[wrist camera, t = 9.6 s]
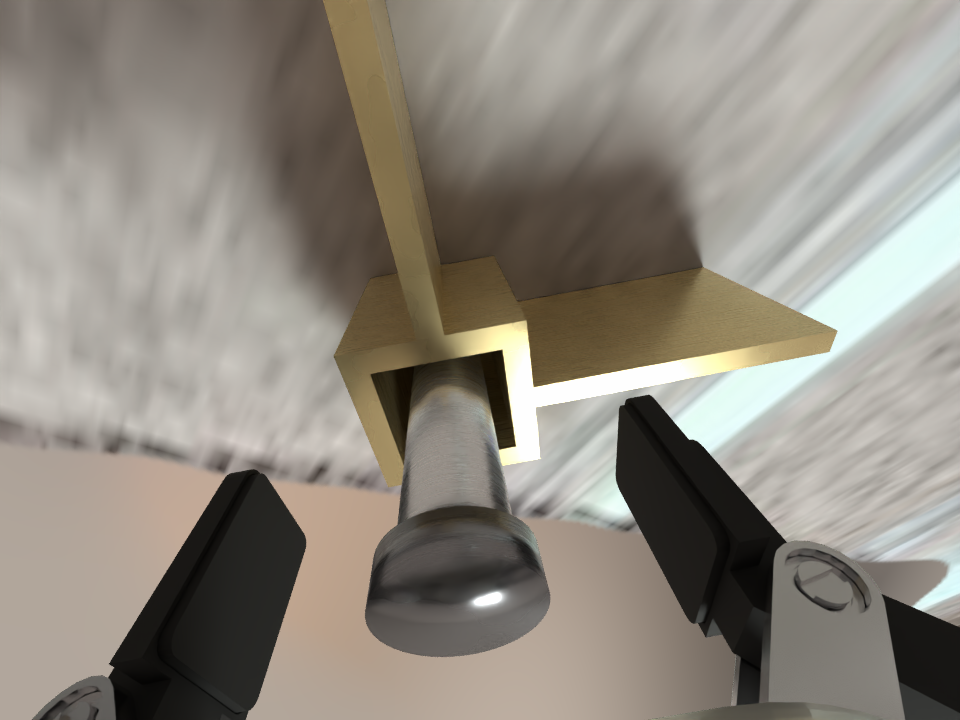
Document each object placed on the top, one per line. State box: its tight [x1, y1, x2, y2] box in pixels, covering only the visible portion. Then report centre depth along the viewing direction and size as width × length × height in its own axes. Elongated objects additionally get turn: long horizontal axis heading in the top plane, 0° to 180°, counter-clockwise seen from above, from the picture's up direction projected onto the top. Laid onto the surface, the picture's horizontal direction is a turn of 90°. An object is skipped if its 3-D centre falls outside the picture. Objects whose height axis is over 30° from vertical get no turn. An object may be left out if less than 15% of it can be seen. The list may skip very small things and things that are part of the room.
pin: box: [365, 354, 550, 657], centre depth 12 cm, size 3×3×13 cm
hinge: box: [323, 0, 837, 487], centre depth 13 cm, size 16×16×7 cm
